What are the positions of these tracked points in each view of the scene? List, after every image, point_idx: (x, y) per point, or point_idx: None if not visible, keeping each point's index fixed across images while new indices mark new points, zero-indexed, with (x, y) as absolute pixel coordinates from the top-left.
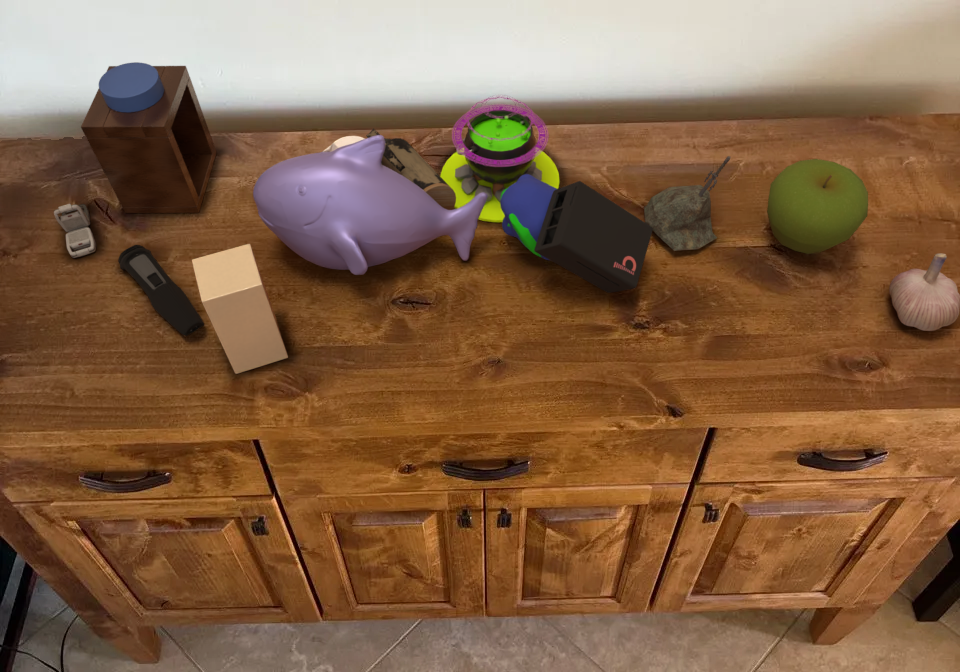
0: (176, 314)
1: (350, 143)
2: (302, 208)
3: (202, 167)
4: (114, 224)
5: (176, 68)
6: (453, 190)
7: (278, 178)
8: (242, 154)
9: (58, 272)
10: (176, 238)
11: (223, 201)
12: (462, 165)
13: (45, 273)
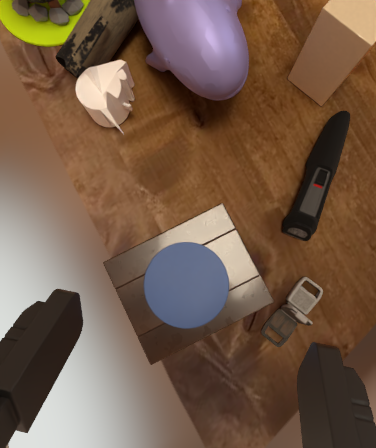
0: (343, 133)
1: (86, 98)
2: (236, 16)
3: None
4: None
5: (113, 270)
6: None
7: (227, 35)
8: (123, 235)
9: (340, 291)
10: (251, 218)
11: (189, 209)
12: (48, 28)
13: (347, 302)
